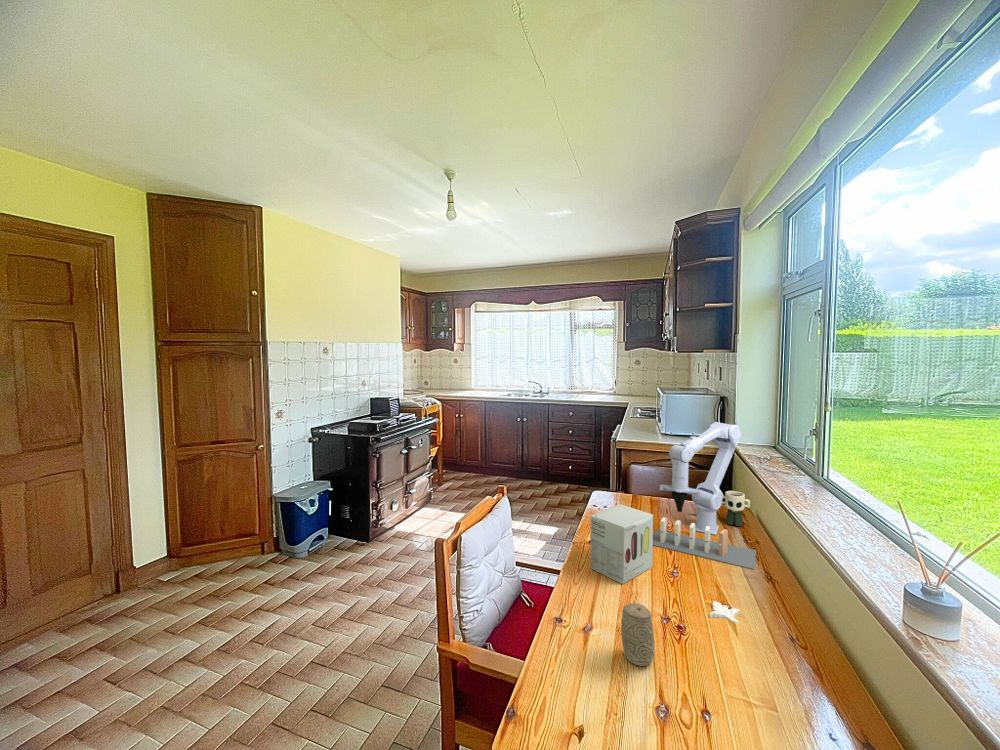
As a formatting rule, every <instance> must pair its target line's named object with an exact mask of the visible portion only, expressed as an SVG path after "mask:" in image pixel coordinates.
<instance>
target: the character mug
mask: <svg viewBox="0 0 1000 750" xmlns="http://www.w3.org/2000/svg"><path fill="white" fill-rule="evenodd" d="M745 495H746V494H745V493H743V492H740V491H736V490H727V491H725V492H724V495H723V497H722V504H723V505H724V506H725V508H726V509H727V512H726V517H725V522H726V524H728V525H730V526H734V525H735V526H736V527H741V526H743V525H744V518H743V512H742V511H744V509H745V508H749V509H750V507H751V499H747V498H746V496H745ZM723 500H724V501H723ZM745 502H747V503H746V504H745ZM722 504H721V505H722Z"/></svg>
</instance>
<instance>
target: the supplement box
mask: <svg viewBox="0 0 1000 750" xmlns="http://www.w3.org/2000/svg"><path fill="white" fill-rule="evenodd" d="M653 534H654V514H652V513H649V512H646V511H643V510H639V509H638V508H637V509H636V508H633V507H631V506H627V505H624V504H621V503H619V504H617V505H614V506H612V507H610V508H609V507H608V508H606V509H605V510H602V511H600V512H596V513H595V514H591V515H590V569H591V570H593V571H595V572H597V573H599V574H602V575H603V576H604V577H607V578H609V579H611V580H613V581H615V582H617V583H618V584H621V585H624V584H626V583H627V582H629V581H631V580H632V579H634V578H636V577H637V576H640V575H641V574H643V573H645V572H646V571H648V570H650V569H652V568H653V553H654V552H653V551H654V550H653V548H654V546H653Z"/></svg>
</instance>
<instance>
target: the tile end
mask: <svg viewBox="0 0 1000 750" xmlns="http://www.w3.org/2000/svg"><path fill="white" fill-rule="evenodd" d="M728 541H729V530H728V529H725V528H724V529H723V530H721V531H720V532H718V542H719V555H720V556H724V555H725V554H726V553H727V552H728V545H729V544H728V543H729V542H728Z"/></svg>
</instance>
